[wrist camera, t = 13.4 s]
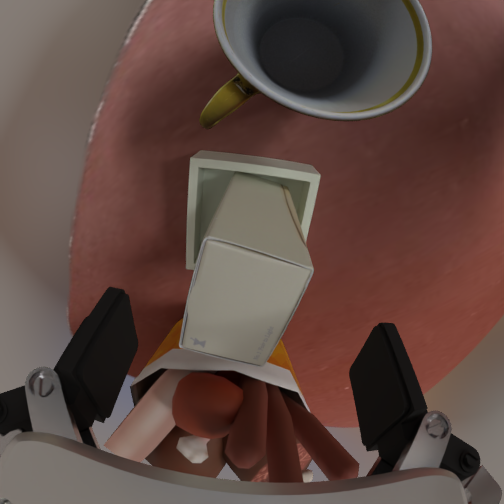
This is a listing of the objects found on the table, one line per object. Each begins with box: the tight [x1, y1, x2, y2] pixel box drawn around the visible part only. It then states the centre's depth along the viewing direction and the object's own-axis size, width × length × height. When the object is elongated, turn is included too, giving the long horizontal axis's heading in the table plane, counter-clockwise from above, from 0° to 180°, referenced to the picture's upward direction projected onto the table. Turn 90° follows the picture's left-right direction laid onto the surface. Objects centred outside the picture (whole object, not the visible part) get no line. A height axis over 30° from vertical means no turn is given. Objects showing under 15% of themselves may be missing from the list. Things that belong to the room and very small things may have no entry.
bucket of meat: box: [104, 318, 359, 483], centre depth 21 cm, size 20×16×20 cm
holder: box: [186, 150, 321, 270], centre depth 21 cm, size 9×9×4 cm
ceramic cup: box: [199, 0, 432, 129], centre depth 13 cm, size 13×10×10 cm
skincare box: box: [179, 171, 314, 367], centre depth 16 cm, size 6×4×12 cm
